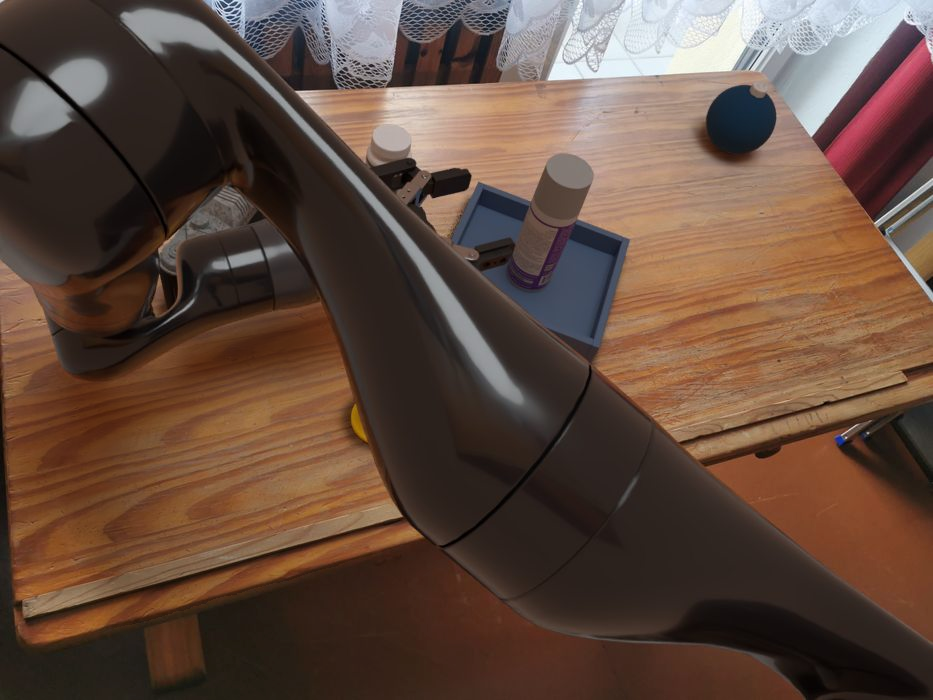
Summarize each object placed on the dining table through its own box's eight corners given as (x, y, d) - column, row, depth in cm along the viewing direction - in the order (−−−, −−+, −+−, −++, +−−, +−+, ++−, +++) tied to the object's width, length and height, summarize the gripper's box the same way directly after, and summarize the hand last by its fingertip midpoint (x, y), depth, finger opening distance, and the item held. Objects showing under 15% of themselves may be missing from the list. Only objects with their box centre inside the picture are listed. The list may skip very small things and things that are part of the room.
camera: (225, 343, 71) (217, 276, 63) (159, 315, 72) (142, 244, 63) (299, 237, 80) (301, 165, 72) (239, 212, 80) (234, 138, 72)
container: (542, 256, 84) (585, 151, 71) (554, 291, 81) (602, 188, 69) (501, 259, 82) (538, 152, 70) (512, 294, 80) (553, 190, 68)
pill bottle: (388, 173, 87) (396, 114, 80) (414, 200, 86) (424, 142, 79) (353, 189, 85) (359, 129, 78) (379, 217, 83) (387, 159, 76)
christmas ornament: (742, 124, 105) (781, 61, 96) (765, 169, 100) (807, 107, 92) (686, 121, 103) (721, 57, 94) (706, 167, 98) (744, 103, 90)
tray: (619, 258, 87) (630, 238, 84) (588, 366, 78) (599, 348, 75) (472, 202, 87) (478, 181, 84) (425, 302, 78) (430, 282, 76)
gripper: (351, 293, 57) (539, 242, 63) (284, 159, 63) (462, 125, 69) (345, 350, 63) (517, 298, 69) (285, 223, 69) (448, 186, 75)
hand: (489, 212), depth 69 cm, fingers open, 8 cm apart
